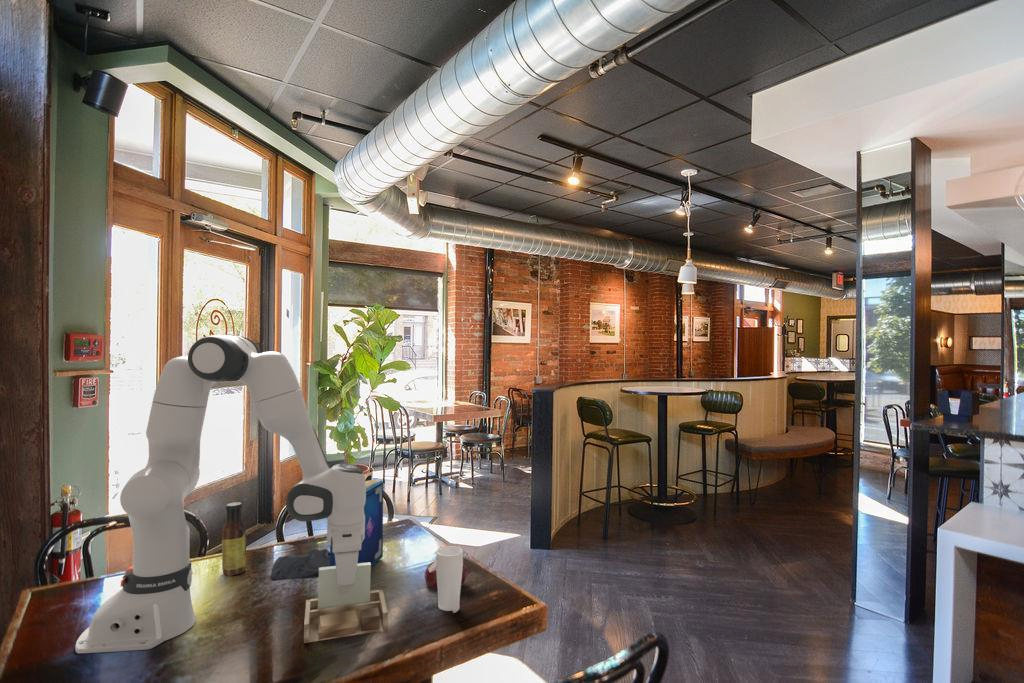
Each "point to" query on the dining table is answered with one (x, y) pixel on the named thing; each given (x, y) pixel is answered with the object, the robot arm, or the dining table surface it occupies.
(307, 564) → the dark slate chunk
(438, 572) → the drinking glass
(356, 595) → the sheet
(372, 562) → the book
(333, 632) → the offcut low
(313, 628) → the rack
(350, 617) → the offcut top
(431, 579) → the heart
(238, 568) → the sauce bottle
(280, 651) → the dining table surface
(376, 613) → the offcut small
